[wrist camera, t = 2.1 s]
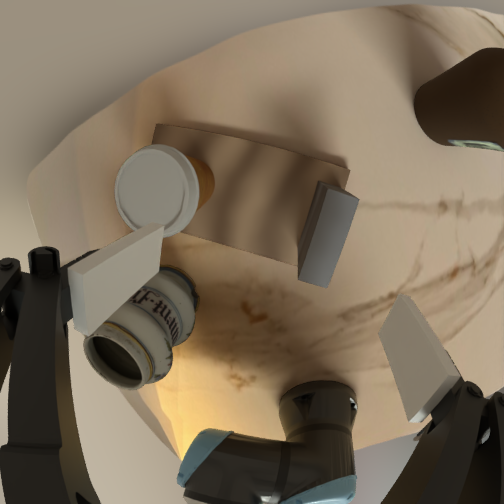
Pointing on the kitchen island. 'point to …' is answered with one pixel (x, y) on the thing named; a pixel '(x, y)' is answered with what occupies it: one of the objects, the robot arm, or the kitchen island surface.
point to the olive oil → (466, 103)
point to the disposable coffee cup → (162, 188)
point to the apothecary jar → (145, 331)
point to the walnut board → (269, 201)
